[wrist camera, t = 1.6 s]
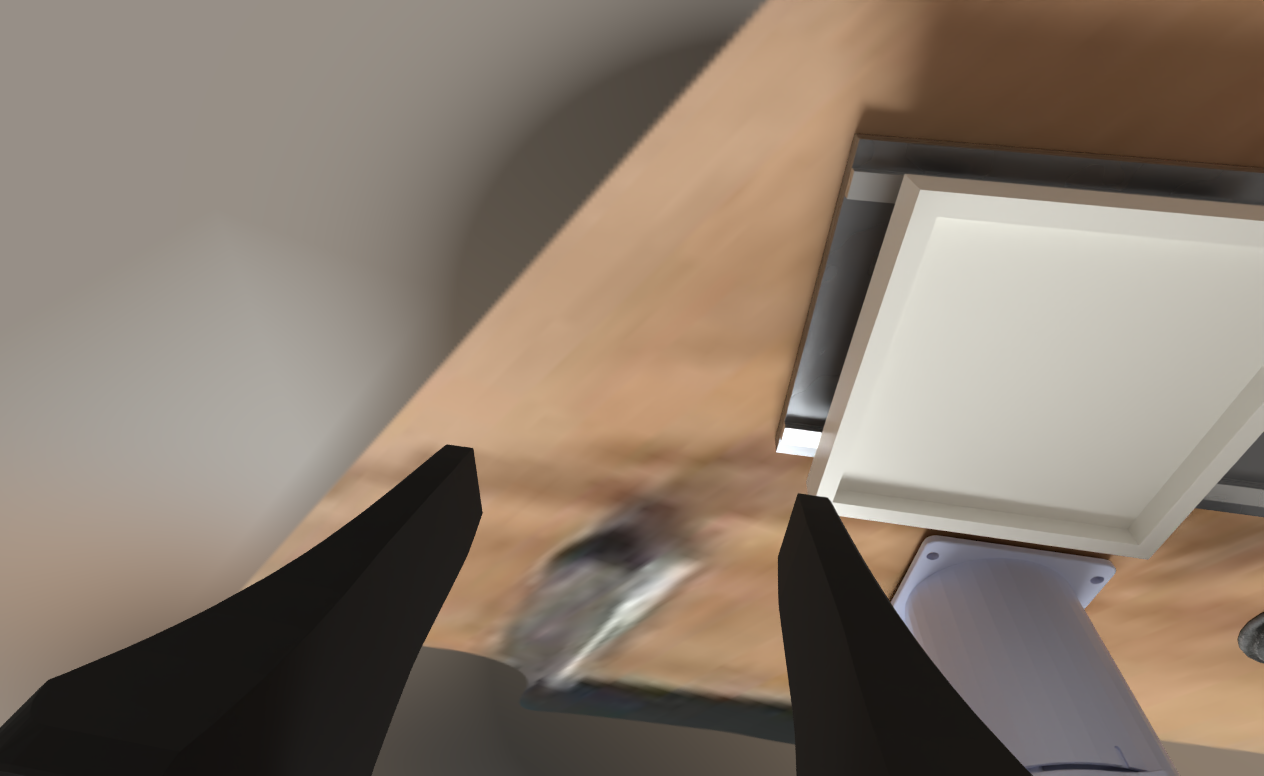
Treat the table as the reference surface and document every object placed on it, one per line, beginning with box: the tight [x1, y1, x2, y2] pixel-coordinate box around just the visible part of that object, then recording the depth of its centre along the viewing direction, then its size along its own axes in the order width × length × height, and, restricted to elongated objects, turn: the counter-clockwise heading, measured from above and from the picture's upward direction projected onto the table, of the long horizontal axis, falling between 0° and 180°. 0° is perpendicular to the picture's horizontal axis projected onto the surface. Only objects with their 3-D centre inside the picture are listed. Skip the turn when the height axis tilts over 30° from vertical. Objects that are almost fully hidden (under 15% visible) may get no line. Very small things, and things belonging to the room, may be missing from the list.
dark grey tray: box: [775, 134, 1264, 517], centre depth 18 cm, size 12×24×2 cm, turn 87°
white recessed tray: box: [806, 174, 1264, 560], centre depth 17 cm, size 11×11×3 cm
